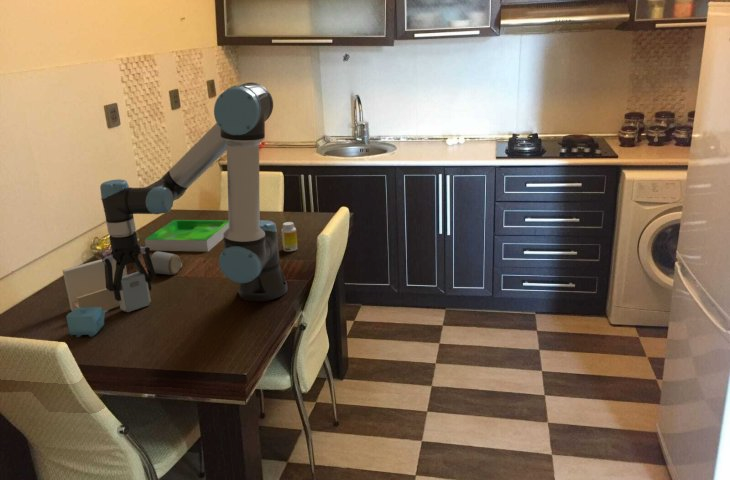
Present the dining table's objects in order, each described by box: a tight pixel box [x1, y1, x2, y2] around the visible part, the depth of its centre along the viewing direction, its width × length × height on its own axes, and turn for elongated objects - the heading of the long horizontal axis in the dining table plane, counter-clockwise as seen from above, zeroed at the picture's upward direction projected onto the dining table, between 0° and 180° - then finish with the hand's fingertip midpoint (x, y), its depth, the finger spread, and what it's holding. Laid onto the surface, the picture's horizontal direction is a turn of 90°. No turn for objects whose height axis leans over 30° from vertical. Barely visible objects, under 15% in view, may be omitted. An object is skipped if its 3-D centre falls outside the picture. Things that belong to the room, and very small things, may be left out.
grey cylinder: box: [150, 251, 183, 276], centre depth 215 cm, size 11×8×8 cm
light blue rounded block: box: [65, 307, 110, 338], centre depth 173 cm, size 12×6×8 cm, turn 90°
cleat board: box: [62, 258, 128, 312], centre depth 189 cm, size 9×18×13 cm, turn 134°
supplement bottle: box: [280, 221, 299, 252], centre depth 231 cm, size 6×6×10 cm
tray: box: [144, 219, 229, 253], centre depth 247 cm, size 25×25×5 cm
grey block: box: [120, 271, 151, 313], centre depth 186 cm, size 4×7×10 cm, turn 134°
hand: (135, 305), depth 188 cm, fingers closed on grey block, 7 cm apart
